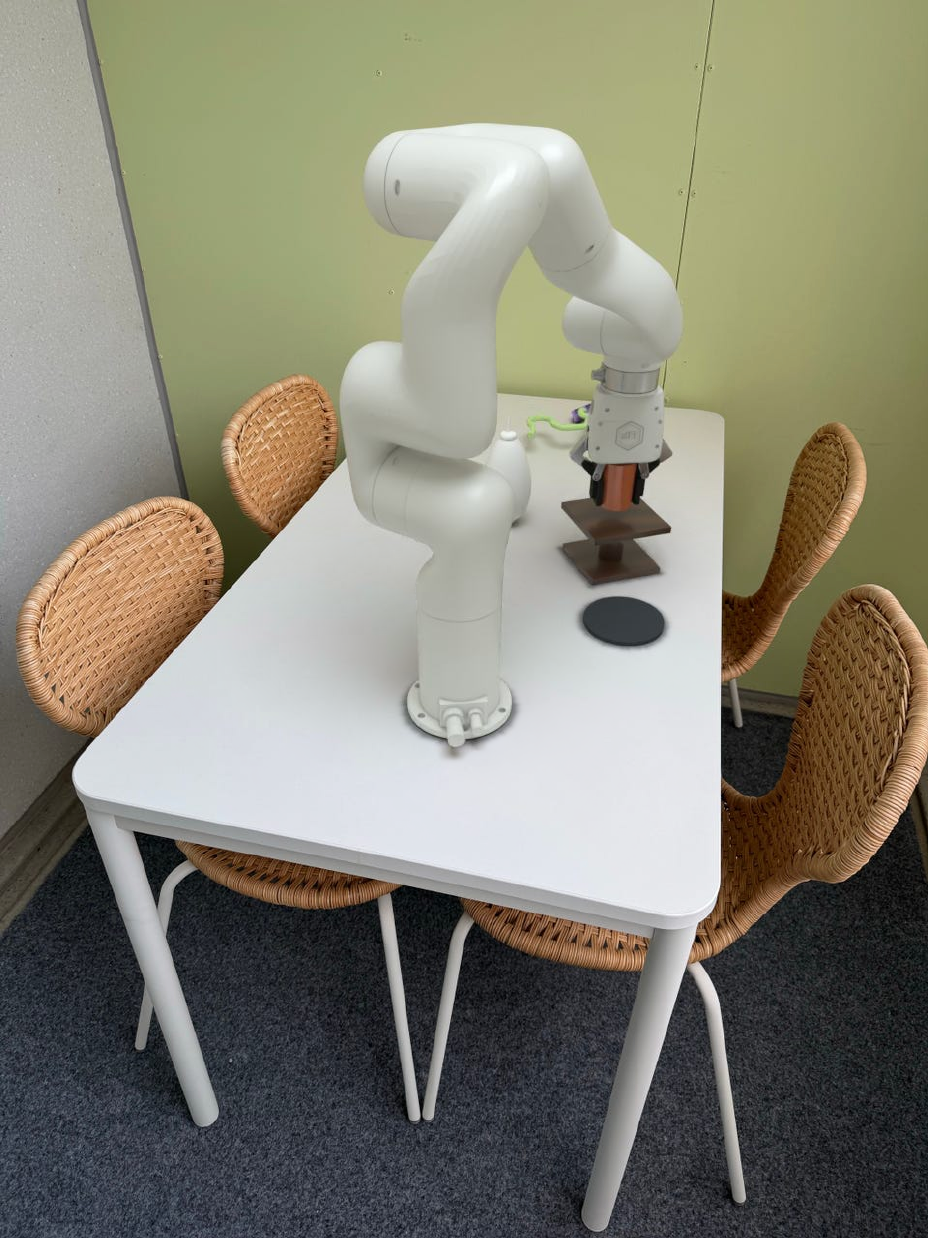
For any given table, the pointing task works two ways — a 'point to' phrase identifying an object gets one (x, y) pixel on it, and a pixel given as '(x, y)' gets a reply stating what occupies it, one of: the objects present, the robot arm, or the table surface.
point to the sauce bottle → (512, 467)
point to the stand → (612, 540)
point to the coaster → (623, 621)
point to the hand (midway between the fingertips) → (615, 499)
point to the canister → (618, 486)
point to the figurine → (577, 414)
